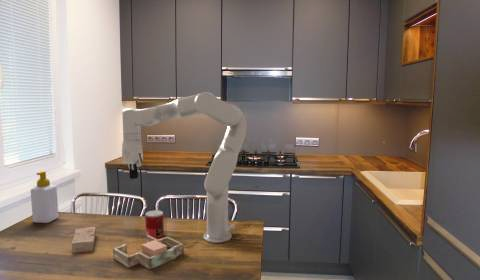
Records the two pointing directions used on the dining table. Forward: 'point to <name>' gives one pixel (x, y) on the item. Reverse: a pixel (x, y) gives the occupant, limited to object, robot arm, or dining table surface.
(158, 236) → the canned food
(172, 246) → the channel
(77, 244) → the brick
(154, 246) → the block
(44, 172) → the soap bottle
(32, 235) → the dining table surface
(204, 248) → the dining table surface
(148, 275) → the dining table surface
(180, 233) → the dining table surface
